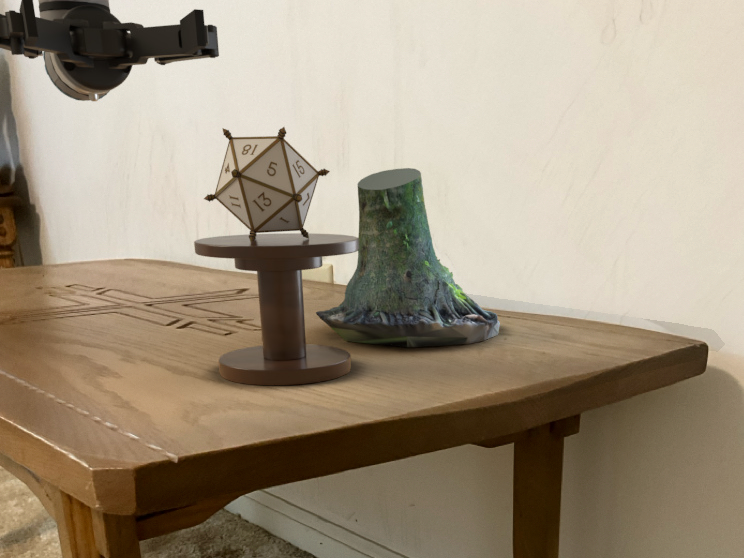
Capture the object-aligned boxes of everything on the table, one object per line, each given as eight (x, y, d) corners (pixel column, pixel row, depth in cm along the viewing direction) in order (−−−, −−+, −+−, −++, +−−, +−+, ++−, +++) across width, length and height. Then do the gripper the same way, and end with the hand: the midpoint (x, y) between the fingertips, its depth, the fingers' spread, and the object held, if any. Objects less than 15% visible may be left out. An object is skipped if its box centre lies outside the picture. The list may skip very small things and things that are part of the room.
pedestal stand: (185, 366, 74) (170, 238, 69) (318, 349, 80) (312, 231, 76) (244, 396, 64) (232, 249, 59) (391, 374, 70) (389, 240, 66)
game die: (250, 289, 68) (160, 182, 64) (295, 241, 73) (215, 140, 69) (324, 234, 62) (230, 113, 58) (367, 187, 68) (284, 73, 64)
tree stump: (537, 330, 91) (536, 150, 80) (441, 415, 78) (424, 216, 67) (396, 307, 100) (377, 143, 89) (288, 380, 87) (252, 200, 76)
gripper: (213, 96, 94) (267, 79, 77) (-34, 89, 85) (-39, 67, 67) (207, 18, 91) (261, -19, 74) (-51, 1, 82) (-60, -46, 64)
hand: (118, 22), depth 70 cm, fingers open, 13 cm apart
